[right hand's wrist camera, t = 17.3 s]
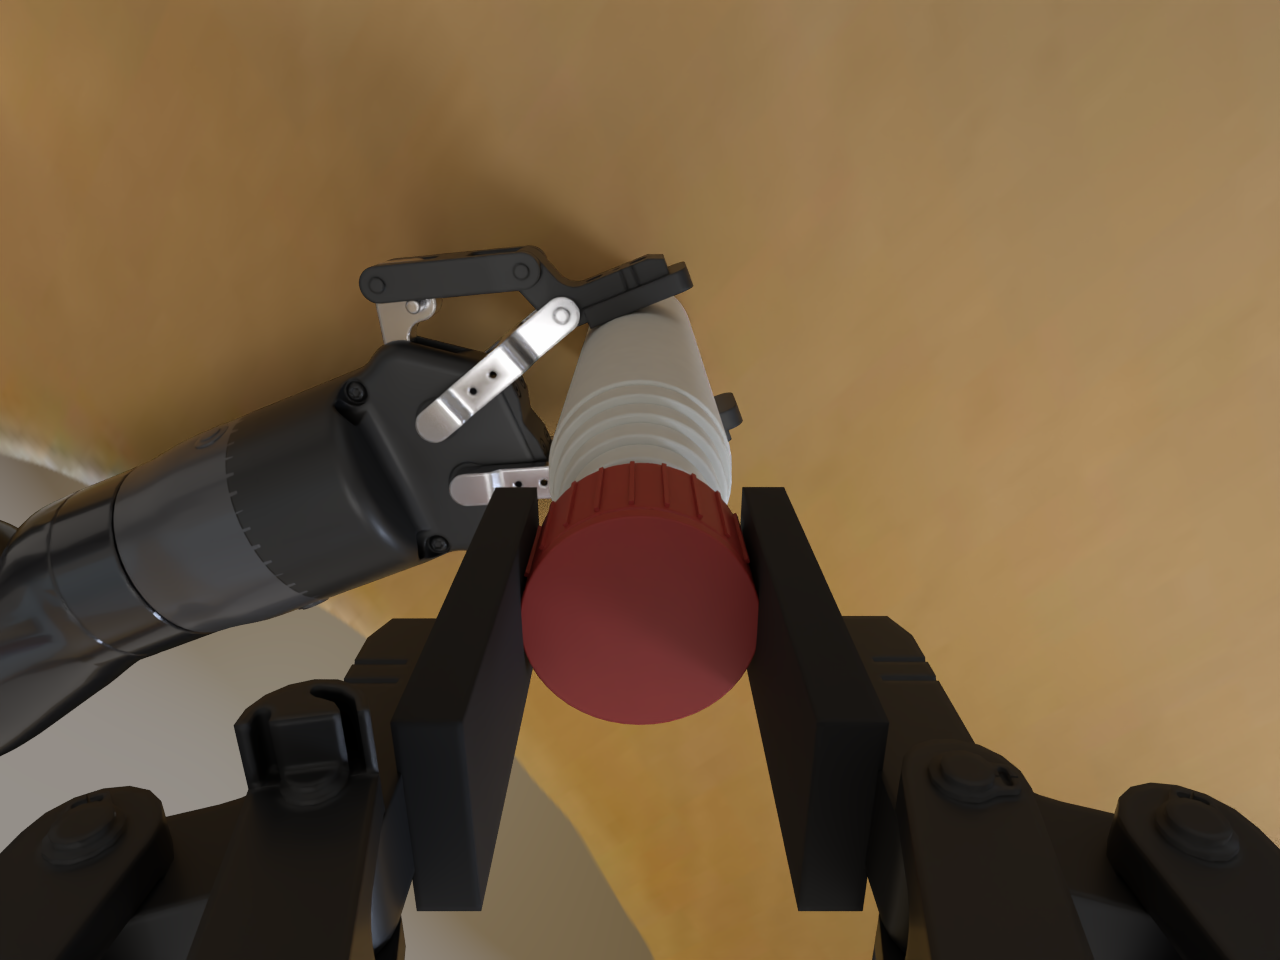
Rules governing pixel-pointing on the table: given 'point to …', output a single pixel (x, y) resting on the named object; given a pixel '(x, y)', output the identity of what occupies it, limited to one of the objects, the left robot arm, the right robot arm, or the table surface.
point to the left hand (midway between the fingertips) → (711, 343)
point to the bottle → (641, 403)
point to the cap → (639, 596)
